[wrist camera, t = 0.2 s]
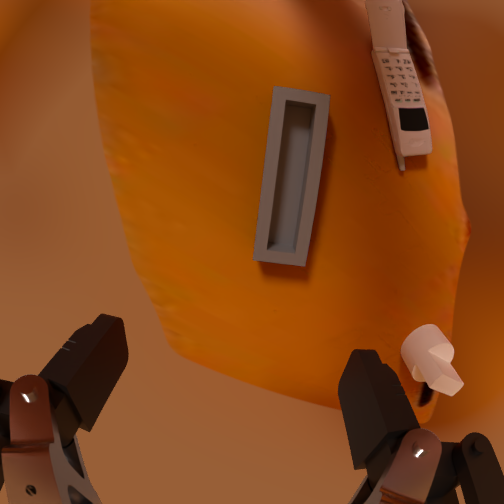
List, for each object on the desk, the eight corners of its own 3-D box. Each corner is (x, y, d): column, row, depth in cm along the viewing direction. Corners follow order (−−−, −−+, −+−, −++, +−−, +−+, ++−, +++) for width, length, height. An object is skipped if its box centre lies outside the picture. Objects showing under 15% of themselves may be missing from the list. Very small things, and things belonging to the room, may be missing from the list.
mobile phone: (401, -4, 19) (449, 170, 27) (386, 12, 25) (427, 166, 33) (361, -8, 20) (412, 174, 28) (350, 10, 25) (393, 170, 33)
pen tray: (273, 93, 31) (273, 85, 27) (323, 101, 31) (330, 95, 27) (254, 249, 38) (252, 260, 34) (301, 255, 38) (304, 266, 34)
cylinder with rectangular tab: (391, 354, 44) (414, 400, 32) (423, 317, 41) (455, 358, 29) (417, 366, 45) (440, 407, 33) (447, 333, 42) (476, 371, 31)
